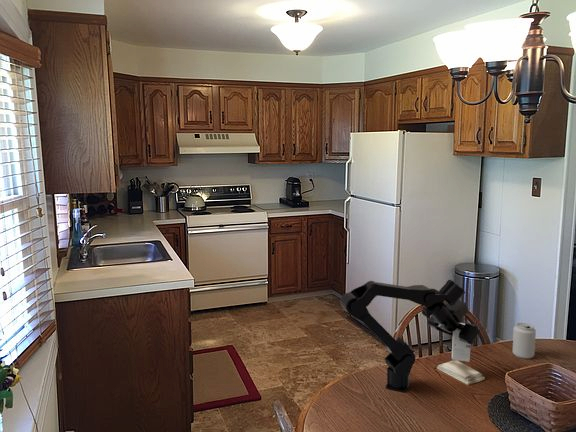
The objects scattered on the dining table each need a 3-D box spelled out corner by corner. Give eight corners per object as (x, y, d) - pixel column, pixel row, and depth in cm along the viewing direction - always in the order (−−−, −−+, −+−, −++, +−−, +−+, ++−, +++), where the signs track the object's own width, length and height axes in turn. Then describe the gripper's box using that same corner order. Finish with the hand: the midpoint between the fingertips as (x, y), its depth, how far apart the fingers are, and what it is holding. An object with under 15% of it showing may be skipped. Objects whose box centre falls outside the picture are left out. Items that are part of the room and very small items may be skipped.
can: (532, 361, 177) (533, 330, 176) (510, 356, 182) (511, 326, 180) (536, 354, 183) (537, 324, 181) (515, 349, 188) (516, 320, 186)
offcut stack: (467, 385, 161) (467, 378, 160) (436, 368, 173) (436, 362, 173) (484, 379, 164) (485, 372, 164) (453, 363, 177) (453, 357, 176)
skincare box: (451, 360, 167) (452, 326, 165) (451, 354, 171) (452, 322, 169) (470, 362, 165) (472, 328, 163) (469, 356, 169) (471, 323, 168)
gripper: (477, 302, 155) (499, 329, 161) (435, 288, 171) (456, 313, 178) (458, 330, 152) (481, 356, 159) (417, 313, 169) (440, 337, 175)
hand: (464, 339), depth 168 cm, fingers closed on skincare box, 7 cm apart
